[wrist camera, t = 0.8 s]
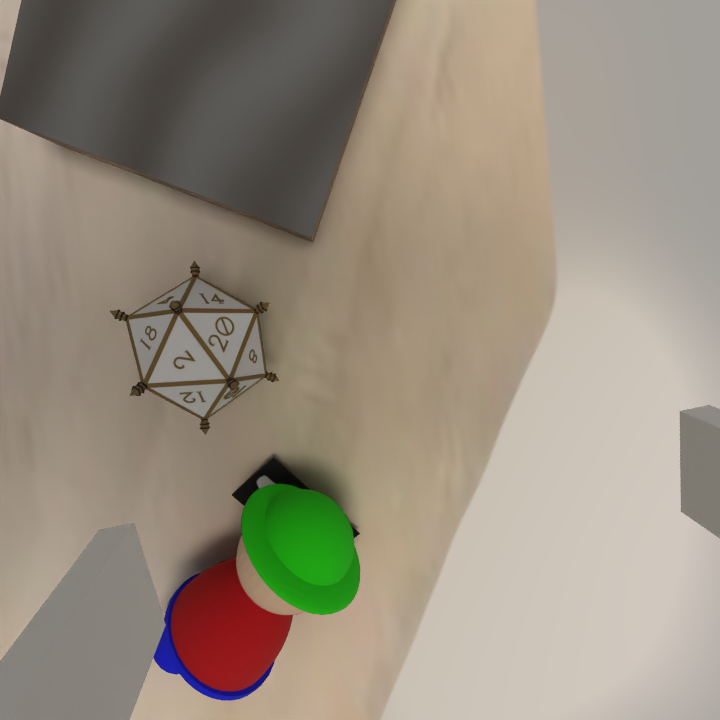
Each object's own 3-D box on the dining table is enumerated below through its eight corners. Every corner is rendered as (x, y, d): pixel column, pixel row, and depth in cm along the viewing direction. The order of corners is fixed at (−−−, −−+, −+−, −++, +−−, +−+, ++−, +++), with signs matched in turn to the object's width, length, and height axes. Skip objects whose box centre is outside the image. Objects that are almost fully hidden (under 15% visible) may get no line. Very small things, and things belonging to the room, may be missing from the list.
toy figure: (261, 616, 39) (383, 499, 34) (240, 750, 30) (400, 615, 26) (162, 565, 36) (282, 432, 32) (107, 697, 27) (262, 536, 23)
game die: (211, 304, 35) (166, 204, 25) (310, 361, 33) (299, 275, 24) (124, 403, 31) (35, 328, 22) (229, 472, 29) (179, 421, 20)
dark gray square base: (56, 143, 28) (-5, 117, 23) (129, -155, 26) (79, -262, 20) (313, 241, 31) (311, 237, 25) (403, -23, 28) (423, -88, 23)
